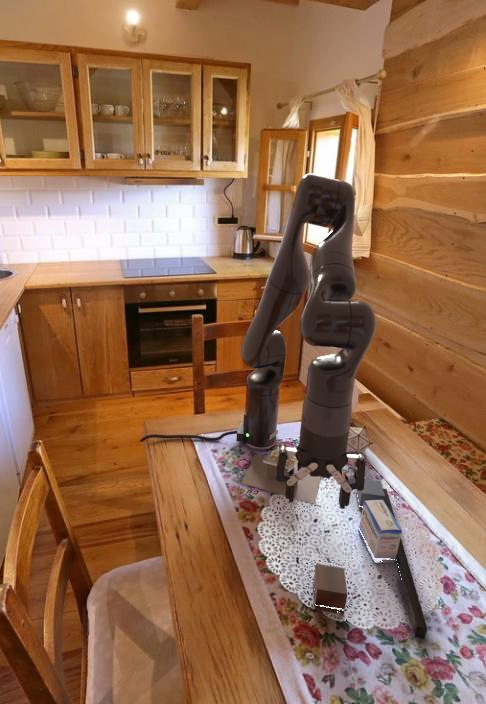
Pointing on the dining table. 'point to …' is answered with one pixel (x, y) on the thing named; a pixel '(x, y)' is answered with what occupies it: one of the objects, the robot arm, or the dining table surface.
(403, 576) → the straightedge
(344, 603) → the walnut block
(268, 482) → the platform
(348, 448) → the beige icosahedron
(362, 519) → the medicine box
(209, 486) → the dining table surface
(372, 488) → the slate block
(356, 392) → the air dust blower
